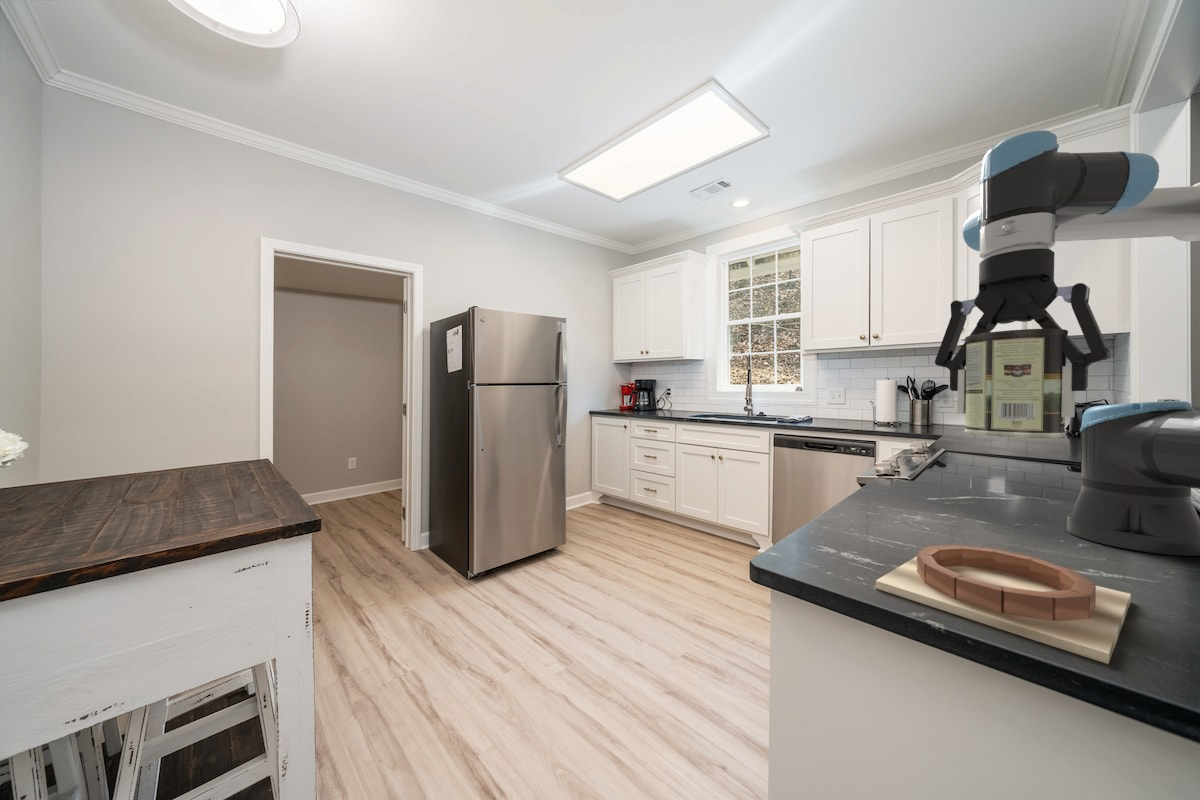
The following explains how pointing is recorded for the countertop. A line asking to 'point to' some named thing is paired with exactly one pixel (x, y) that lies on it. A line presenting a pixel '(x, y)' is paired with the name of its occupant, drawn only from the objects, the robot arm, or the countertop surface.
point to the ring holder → (1015, 596)
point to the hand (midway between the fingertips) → (1011, 415)
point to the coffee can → (1015, 383)
